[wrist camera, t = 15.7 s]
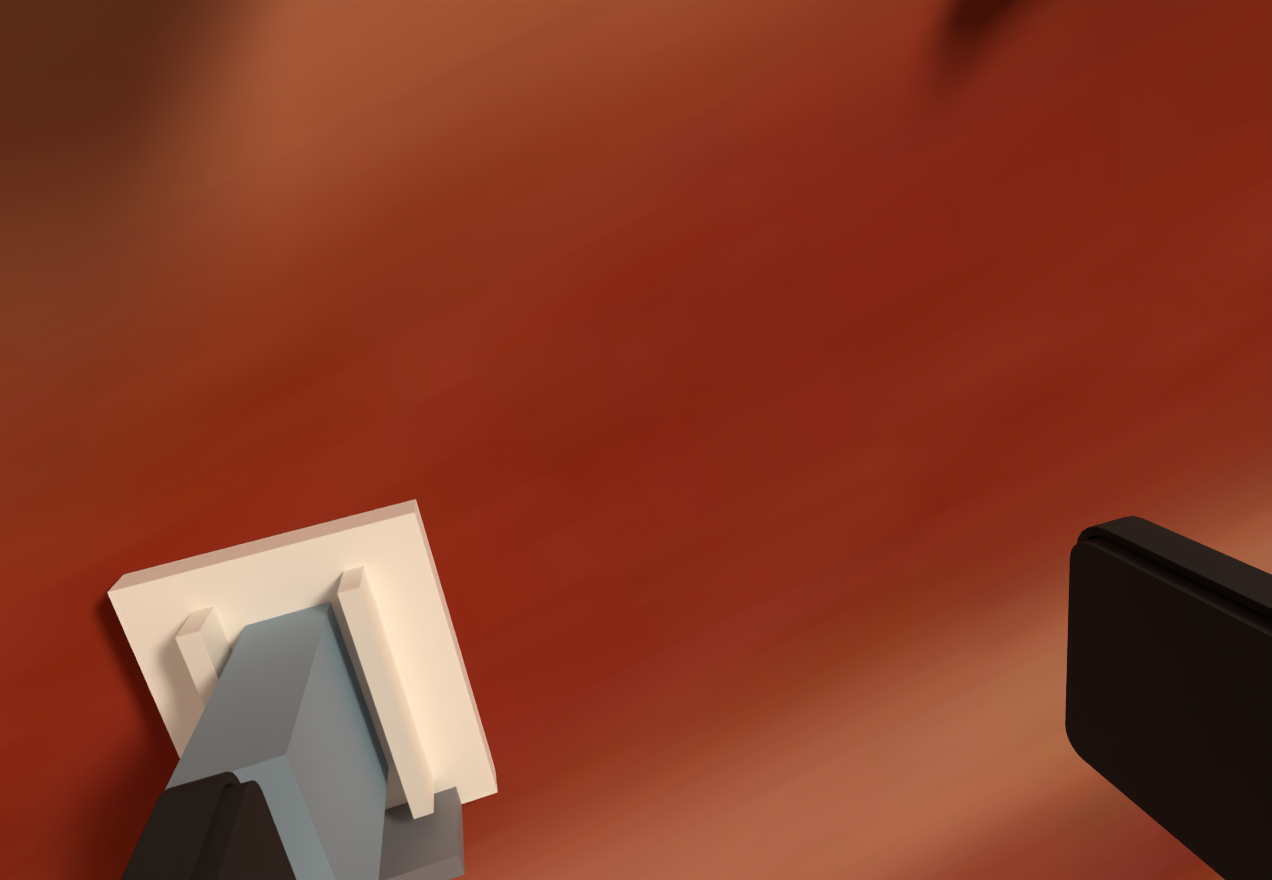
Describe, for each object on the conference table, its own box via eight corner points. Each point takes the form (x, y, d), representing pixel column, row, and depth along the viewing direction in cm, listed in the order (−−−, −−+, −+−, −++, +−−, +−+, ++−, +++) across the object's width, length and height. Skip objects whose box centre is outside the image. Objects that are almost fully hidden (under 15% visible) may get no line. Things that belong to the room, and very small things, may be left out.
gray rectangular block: (245, 625, 38) (163, 792, 26) (330, 601, 38) (285, 754, 27) (311, 792, 41) (262, 1007, 29) (388, 767, 41) (370, 967, 30)
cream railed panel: (123, 574, 38) (57, 646, 31) (415, 499, 40) (411, 551, 34) (241, 851, 43) (206, 963, 36) (495, 768, 45) (505, 860, 39)
